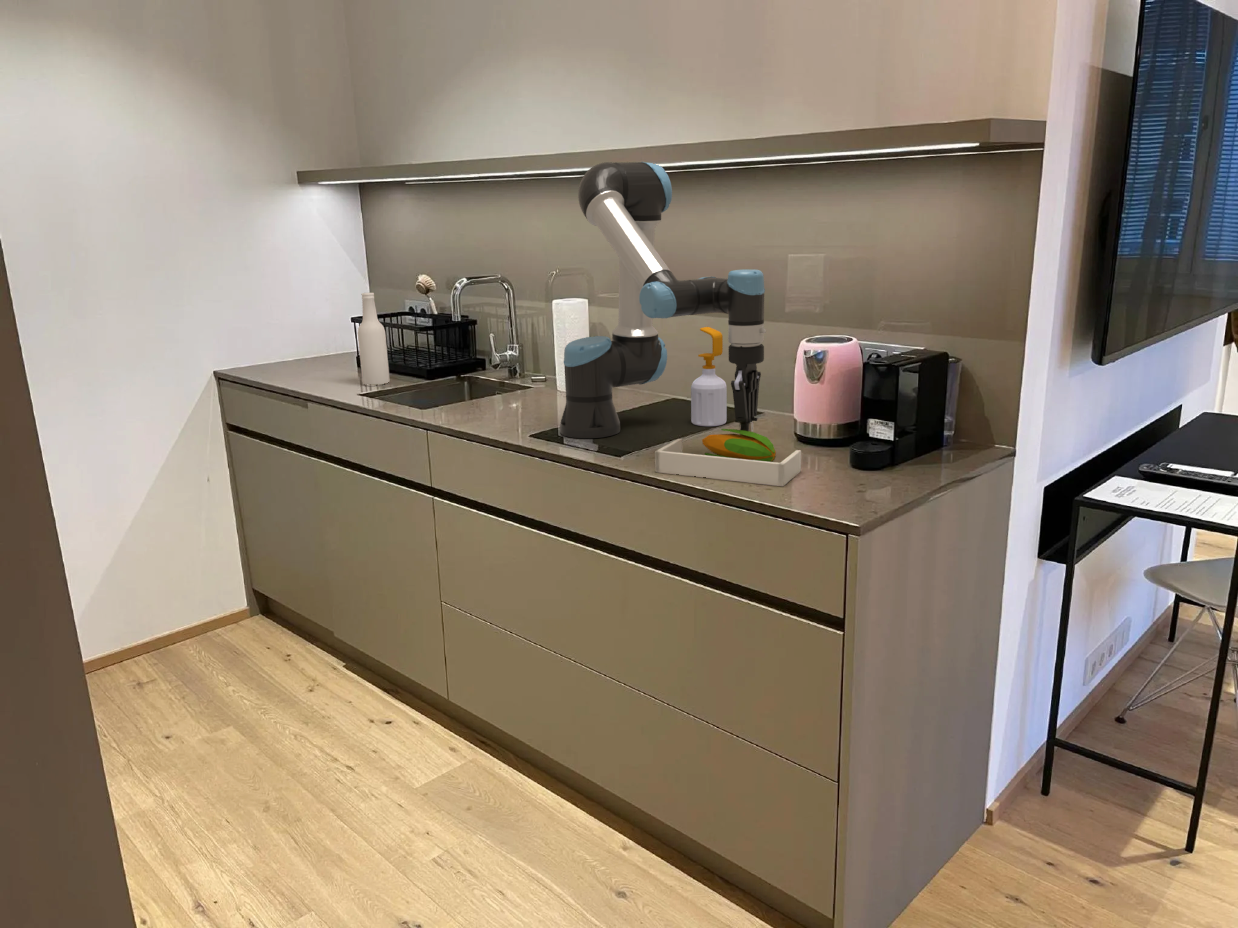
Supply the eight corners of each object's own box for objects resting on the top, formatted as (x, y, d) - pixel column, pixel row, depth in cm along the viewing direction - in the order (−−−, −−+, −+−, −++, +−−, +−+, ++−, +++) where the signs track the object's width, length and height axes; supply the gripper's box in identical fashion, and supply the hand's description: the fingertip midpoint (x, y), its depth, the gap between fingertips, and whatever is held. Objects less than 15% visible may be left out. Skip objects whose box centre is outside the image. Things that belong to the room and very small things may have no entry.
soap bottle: (704, 417, 247) (703, 324, 241) (733, 421, 241) (733, 326, 235) (684, 424, 240) (683, 328, 234) (713, 428, 235) (713, 330, 228)
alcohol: (370, 381, 315) (361, 292, 307) (394, 382, 313) (386, 291, 305) (358, 386, 307) (348, 294, 299) (382, 386, 305) (374, 294, 297)
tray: (655, 472, 197) (654, 451, 196) (678, 458, 207) (677, 438, 206) (782, 486, 185) (783, 464, 183) (800, 471, 195) (801, 450, 194)
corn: (762, 439, 190) (690, 425, 204) (761, 475, 192) (689, 459, 206) (784, 434, 195) (712, 420, 209) (783, 469, 197) (711, 453, 211)
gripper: (753, 349, 191) (753, 459, 197) (772, 340, 202) (771, 445, 208) (718, 347, 194) (719, 456, 201) (739, 339, 205) (740, 442, 212)
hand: (746, 450), depth 204 cm, fingers closed
